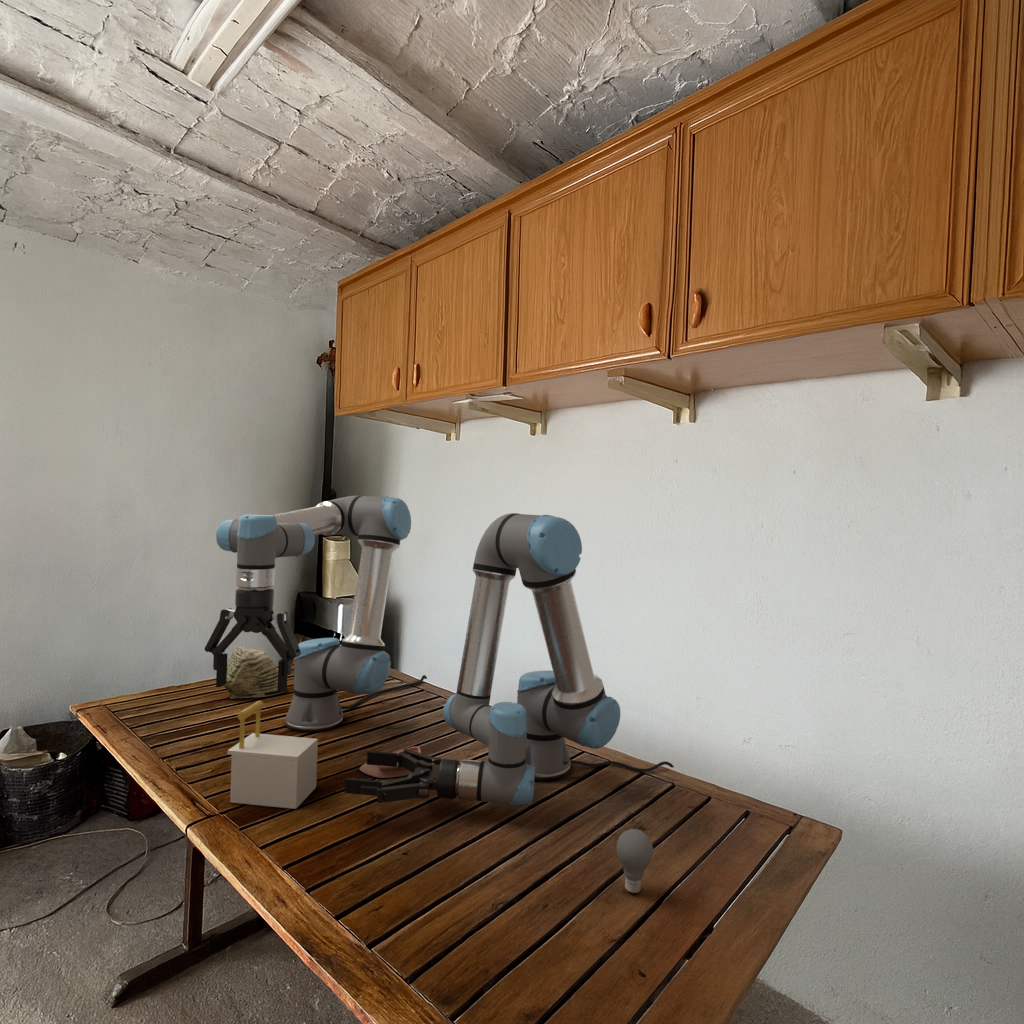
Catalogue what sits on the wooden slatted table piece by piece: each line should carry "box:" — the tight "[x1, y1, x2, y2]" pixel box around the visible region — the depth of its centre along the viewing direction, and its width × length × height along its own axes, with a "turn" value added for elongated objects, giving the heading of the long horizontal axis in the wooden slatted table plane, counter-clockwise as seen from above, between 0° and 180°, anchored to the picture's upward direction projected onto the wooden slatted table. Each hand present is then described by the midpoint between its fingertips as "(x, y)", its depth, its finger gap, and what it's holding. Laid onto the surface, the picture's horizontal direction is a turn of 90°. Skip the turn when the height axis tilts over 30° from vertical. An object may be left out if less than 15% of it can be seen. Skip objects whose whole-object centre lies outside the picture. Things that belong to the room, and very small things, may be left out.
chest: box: [229, 742, 319, 810], centre depth 134 cm, size 14×10×10 cm
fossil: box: [223, 646, 287, 699], centre depth 198 cm, size 9×18×15 cm, turn 132°
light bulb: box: [615, 828, 654, 894], centre depth 106 cm, size 6×6×10 cm
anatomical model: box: [359, 746, 422, 779], centre depth 149 cm, size 13×4×12 cm
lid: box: [227, 700, 319, 761], centre depth 134 cm, size 15×10×9 cm, turn 84°
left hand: (251, 687), depth 134 cm, fingers open, 13 cm apart
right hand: (357, 770), depth 131 cm, fingers open, 13 cm apart
